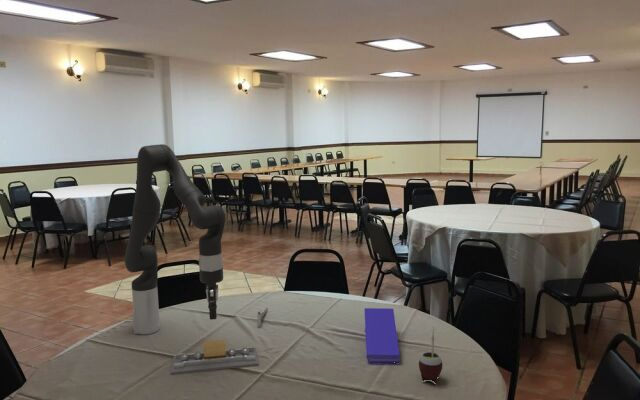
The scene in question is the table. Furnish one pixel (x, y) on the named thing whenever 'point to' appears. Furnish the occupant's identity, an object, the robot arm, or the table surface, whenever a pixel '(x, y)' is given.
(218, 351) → the tall wooden block
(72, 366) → the table surface
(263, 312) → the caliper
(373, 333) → the stapler
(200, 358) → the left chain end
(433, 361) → the mate gourd
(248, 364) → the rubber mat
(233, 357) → the grey studded track end
